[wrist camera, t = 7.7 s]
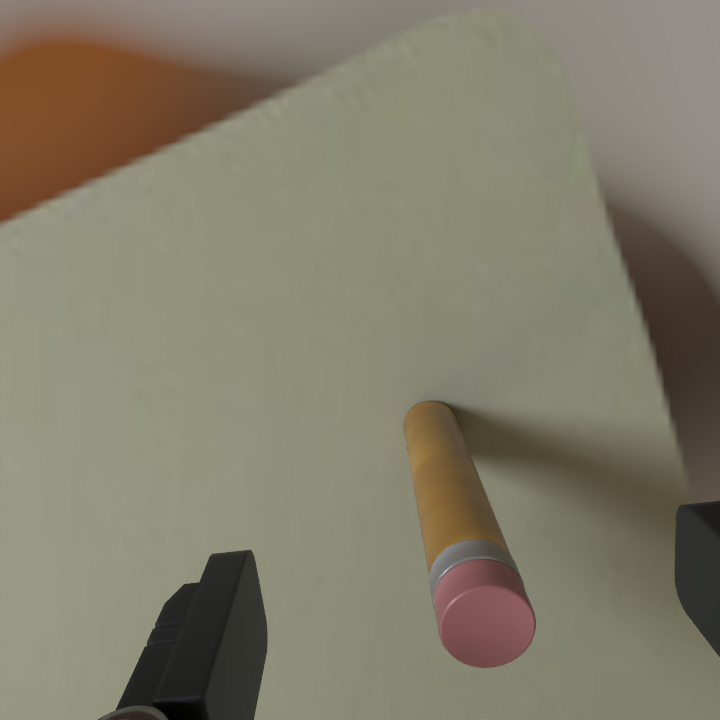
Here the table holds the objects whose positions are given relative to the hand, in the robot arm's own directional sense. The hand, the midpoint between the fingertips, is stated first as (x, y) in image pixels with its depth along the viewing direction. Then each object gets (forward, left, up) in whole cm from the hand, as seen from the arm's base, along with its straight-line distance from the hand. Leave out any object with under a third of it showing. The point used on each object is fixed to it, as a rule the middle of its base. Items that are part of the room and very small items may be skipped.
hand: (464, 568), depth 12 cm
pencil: (0, 0, -7) cm, 7 cm away
